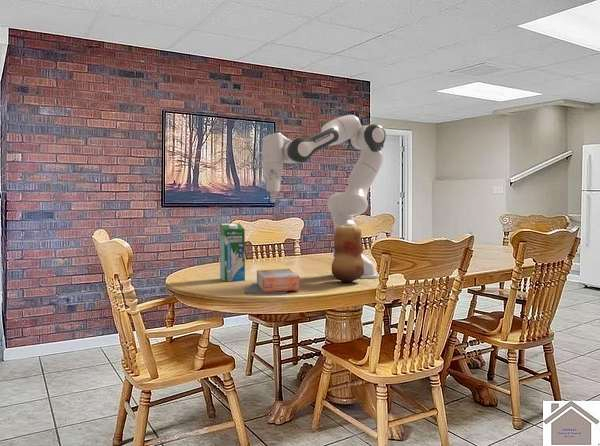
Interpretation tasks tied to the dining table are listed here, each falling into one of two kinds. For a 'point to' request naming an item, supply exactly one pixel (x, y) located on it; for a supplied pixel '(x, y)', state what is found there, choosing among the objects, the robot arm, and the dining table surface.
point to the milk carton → (232, 252)
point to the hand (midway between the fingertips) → (273, 202)
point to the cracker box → (277, 280)
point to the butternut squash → (347, 253)
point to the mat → (257, 290)
